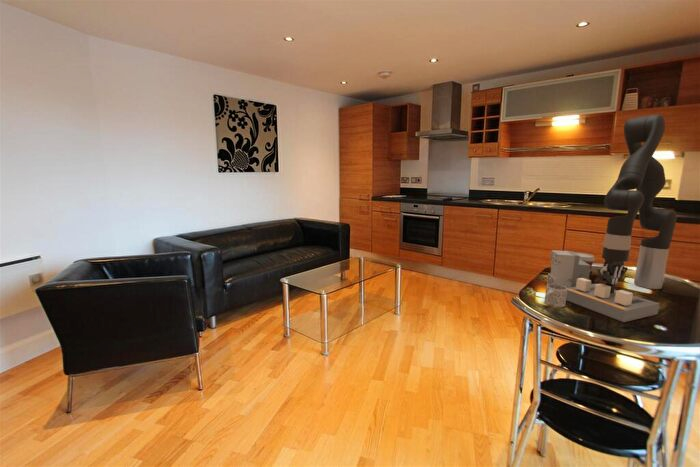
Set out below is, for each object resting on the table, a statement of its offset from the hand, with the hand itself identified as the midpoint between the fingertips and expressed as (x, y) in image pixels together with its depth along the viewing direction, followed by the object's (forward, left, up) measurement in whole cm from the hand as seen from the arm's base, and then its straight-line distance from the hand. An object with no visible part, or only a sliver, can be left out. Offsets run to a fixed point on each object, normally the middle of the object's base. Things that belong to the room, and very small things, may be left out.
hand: (609, 292), depth 126 cm
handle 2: (+4, +7, -1) cm, 8 cm away
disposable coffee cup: (-18, -24, -5) cm, 31 cm away
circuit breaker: (-5, -19, -5) cm, 20 cm away
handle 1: (+4, -7, -1) cm, 8 cm away
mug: (+18, -8, -5) cm, 20 cm away
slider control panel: (0, 0, -5) cm, 5 cm away
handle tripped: (+4, 0, -1) cm, 4 cm away
